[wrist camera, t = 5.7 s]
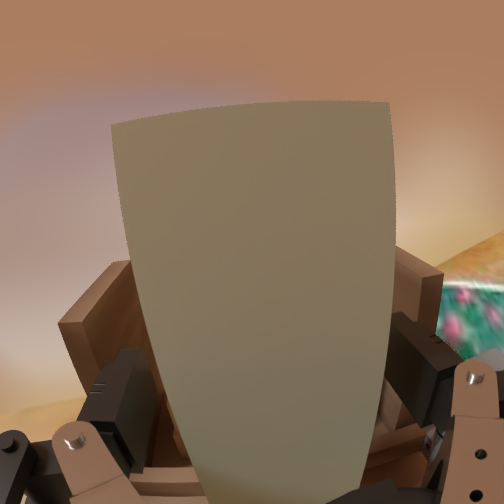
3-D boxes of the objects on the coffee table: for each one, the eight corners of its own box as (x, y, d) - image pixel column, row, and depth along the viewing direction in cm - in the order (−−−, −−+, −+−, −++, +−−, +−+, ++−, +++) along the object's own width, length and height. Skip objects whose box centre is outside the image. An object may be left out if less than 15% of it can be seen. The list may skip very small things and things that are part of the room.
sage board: (329, 486, 13) (335, 117, 8) (344, 532, 10) (388, 102, 5) (229, 502, 12) (147, 135, 8) (232, 550, 9) (110, 124, 5)
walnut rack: (361, 376, 23) (368, 231, 20) (459, 543, 8) (585, 369, 4) (155, 404, 22) (113, 262, 19) (124, 599, 7) (-48, 468, 3)
